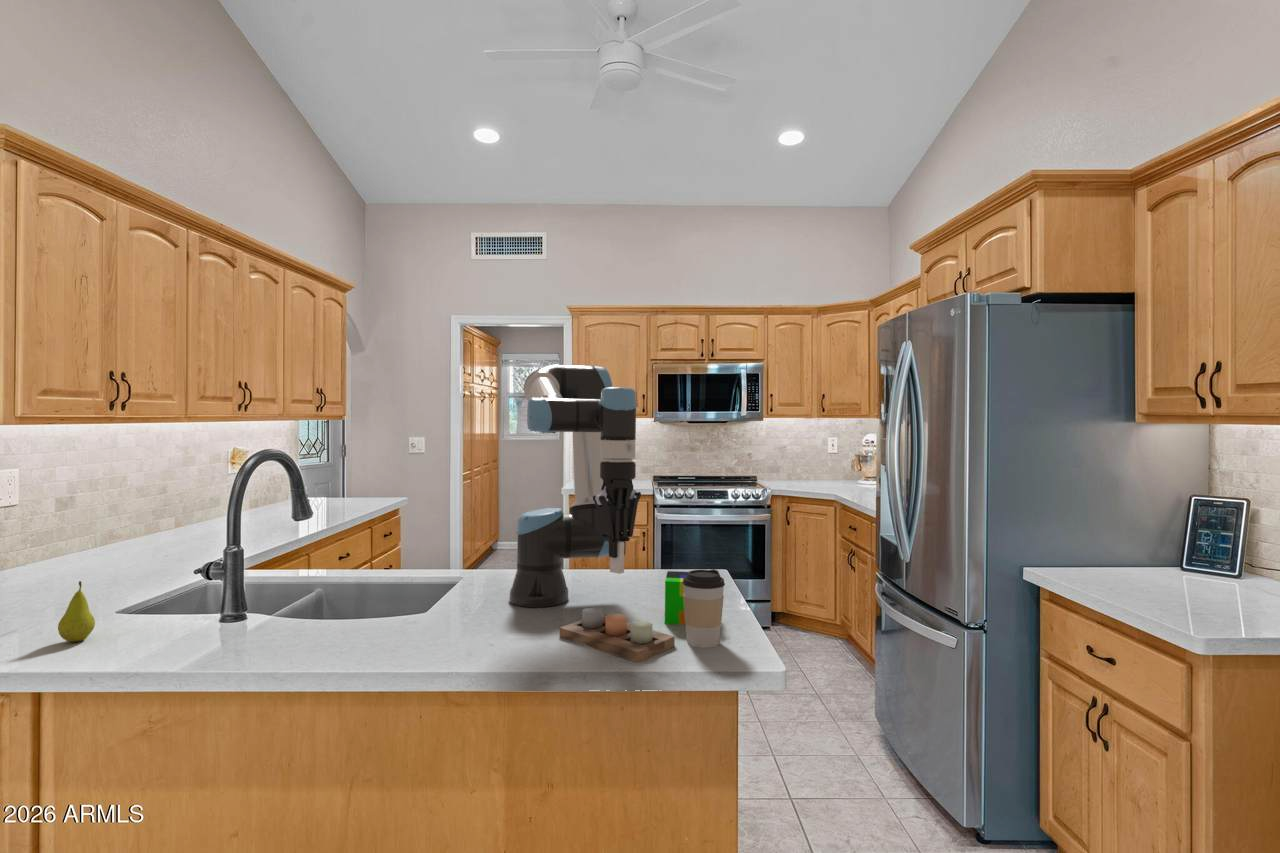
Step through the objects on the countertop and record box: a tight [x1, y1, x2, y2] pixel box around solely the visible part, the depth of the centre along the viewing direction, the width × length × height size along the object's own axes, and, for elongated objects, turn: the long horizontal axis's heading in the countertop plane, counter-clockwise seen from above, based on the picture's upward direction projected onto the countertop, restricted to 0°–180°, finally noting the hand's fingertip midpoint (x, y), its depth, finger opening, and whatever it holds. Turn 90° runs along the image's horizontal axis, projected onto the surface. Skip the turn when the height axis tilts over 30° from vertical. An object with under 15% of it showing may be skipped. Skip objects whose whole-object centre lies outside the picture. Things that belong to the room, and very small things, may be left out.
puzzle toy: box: [664, 570, 689, 626], centre depth 149 cm, size 10×10×10 cm
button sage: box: [630, 620, 654, 646], centre depth 129 cm, size 4×4×3 cm
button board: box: [559, 615, 676, 663], centre depth 133 cm, size 22×12×2 cm, turn 50°
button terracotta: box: [605, 613, 628, 638], centre depth 133 cm, size 4×4×3 cm
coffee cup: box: [682, 568, 726, 649], centre depth 133 cm, size 9×9×15 cm
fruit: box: [57, 580, 96, 643], centre depth 129 cm, size 6×6×12 cm
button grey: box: [581, 607, 604, 630], centre depth 138 cm, size 4×4×3 cm
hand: (617, 572), depth 133 cm, fingers closed
